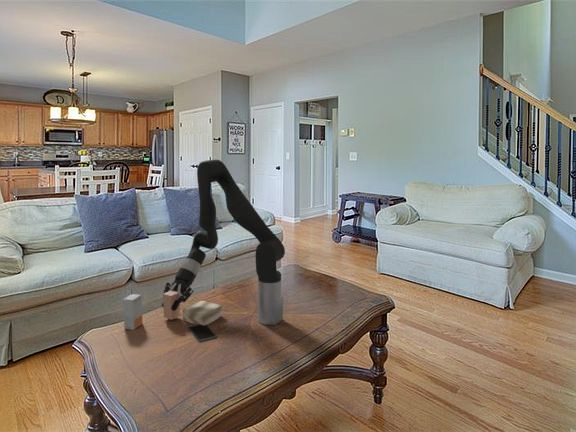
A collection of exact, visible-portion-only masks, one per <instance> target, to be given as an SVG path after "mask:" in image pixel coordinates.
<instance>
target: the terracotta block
mask: <svg viewBox="0 0 576 432" xmlns="http://www.w3.org/2000/svg"><path fill="white" fill-rule="evenodd" d="M177 296H178V293H177V292H176V291H169V292H166V293H164V294H163V293H162V303H163V307H162V308H163V318H165V319H168V320H171V321H173V320H174V319H176V318H178V317H180V316H181V305H180V304H181V303H180V304H179V306H178V308H177V309H176V310H175V311H173V310H172V309H171V307H172V305H173V303H174V302H175V300H176V297H177Z"/></svg>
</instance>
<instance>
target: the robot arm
mask: <svg viewBox="0 0 576 432" xmlns="http://www.w3.org/2000/svg"><path fill="white" fill-rule="evenodd" d="M196 177H197V187H198V197H199V215H198V216H199V217H198V226H199V227H200V228H201V229H203V230H201V229H200V230H198V231H197V232H195V234H194V235H193V239H192V244H191V246H190V247H191V248H190V251H189V253H188V255H187V256H186V258H185V260H184V261H183V262H182V264H181V266H180V268H179V270H178V271H177V273H176V275H175V276H174V277H175V278H174V281H173V282H166V283H165V287H164V290H163V293H162V295H163V294H164V293H166V292H169V291H176V292H177V293H178V296H177V297H176V300H175V302H174V303H173V305H172V307H171V309H172V310H173V311H175V310H176V309H177V308H178V306H179V304H181V303H182V302H183V303H186V301H188V299H189V298H190V297H191V296H192V294H193V293H194V291H195V290H194V289H193V288H192V287H191V286H192V284H193V282H194V281H195V279H196V277H197V276H198V273H199V271H200V270H201V269H200V268H201V267H202V266H203V265H202V264H203V263H204V261H205V258H206V257H207V256H206V253H205V252H204V250H202V249H200V248H204V249H207V250H208V249H209V250H214V249H215V248H216V247H217V246H218V243H219V236H218V235H219V234H218V231H217V226H216V221H217V220H216V218H217V217H216V216H217V207H216V204H215V201H214V200H213V198H212V195H211V186H212V183H215V182H216V183H217V184H218V185H219V186H220V188H221V190H222V191H223V192H224V195H225V205H226V209H227V211H228V213H229V214H230V216H231V218H233V220H234V221H235V222H236V224H238V225H239V226H240V227H241V228H243V229H244V230H246V231H247V232H249V233H250V234H252V236H253V237H255V239H256V240H257V241H258V243H259V244H257V246H256V248H255V257H254V258H255V272H256V275H257V292H258V293H257V321H258V322H259V323H260V324H261V325H269V326H270V325H271V326H276V325H278V324H279V323H280V322H282V321H283V320H282V319H283V318H284V298H283V297H282V273H281V271H279V270H277V269H278V268H277V262H279V261H280V260H282V259H283V258H284V257H285V255H286V248H285V245H284V244H283V242H282V241H281V240H280V238H279V237H278V236H277V235H276V234H275V233H274V232H273V231H272V230H271V228H269V226H268V225H267V224H266V222H265V221H264V220H263V219H262V217H261V216H260V214H259V213H258V212H257V210H256V209H255V208H254V206H253V205H252V203H251V202H250V200H249V199H248V198H247V197H246V196H245V194H244V193H243V192H242V189H241V188H240V187H239V186H238V184H237V183H236V181H235V180H234V178H233V177H232V174H231V173H230V170H229V169H228V168H227V166H226V164H225V163H224V162H223V161H221V159H209V160H203V161H200V162H199V164H198V165H197V169H196ZM161 307H162V308H163V302H162V304H161ZM281 320H282V321H281Z"/></svg>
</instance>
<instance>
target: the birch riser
mask: <svg viewBox="0 0 576 432" xmlns="http://www.w3.org/2000/svg"><path fill="white" fill-rule="evenodd" d="M222 308H223V307H222V305H221V304H217V303H213V302H209V301H206V300H199V301H197V302H195V303H192V304H191V305H188V306H187V307H185V308H183V309H182V321H184V322H187V323H191V324H194V325H199V324H200V325H206V324H207V325H208V326H209V324H211V323H212V322H215V321H216V320H218V319H220V318H221V317H222V316H223V315H222V314H223V312H222V311H223V310H222ZM219 317H220V318H219Z"/></svg>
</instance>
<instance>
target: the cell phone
mask: <svg viewBox="0 0 576 432" xmlns="http://www.w3.org/2000/svg"><path fill="white" fill-rule="evenodd" d="M187 329H188V331H189V332H190V333H191V334H192V336H193V337H194V338H195V340H196V341H197V342H198V343H203V342H208V341H211V340H215V339H218V335H217V334H216V333H215V332H214V331H213V330H212V328H211V327H210V326H209V324H208V325H207V324H206V325H200V324H199V325H197V324H194V325H191V326H190V325H189V326H188V327H187Z"/></svg>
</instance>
